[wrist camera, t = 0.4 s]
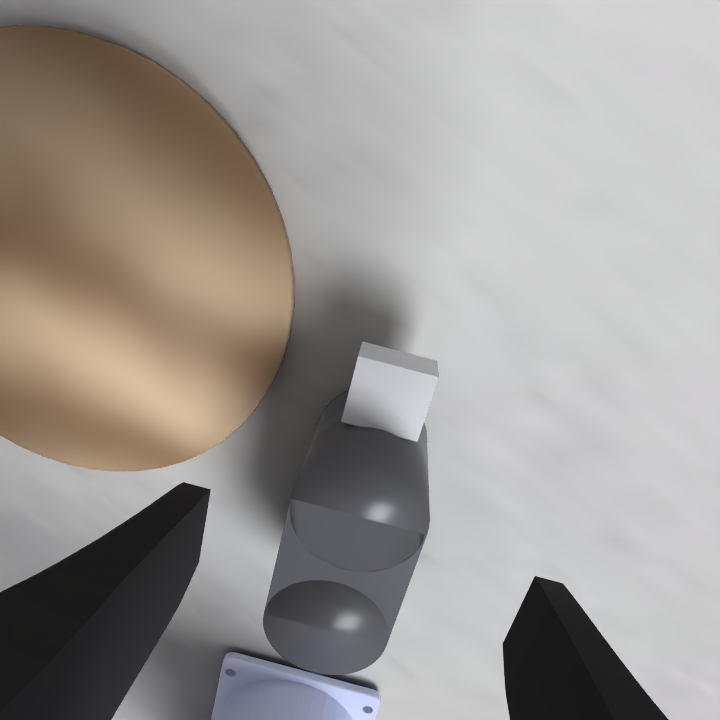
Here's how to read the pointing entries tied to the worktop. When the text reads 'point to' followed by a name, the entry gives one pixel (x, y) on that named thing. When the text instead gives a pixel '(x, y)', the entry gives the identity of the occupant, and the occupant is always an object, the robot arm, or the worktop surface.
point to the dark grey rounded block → (355, 518)
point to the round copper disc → (129, 259)
